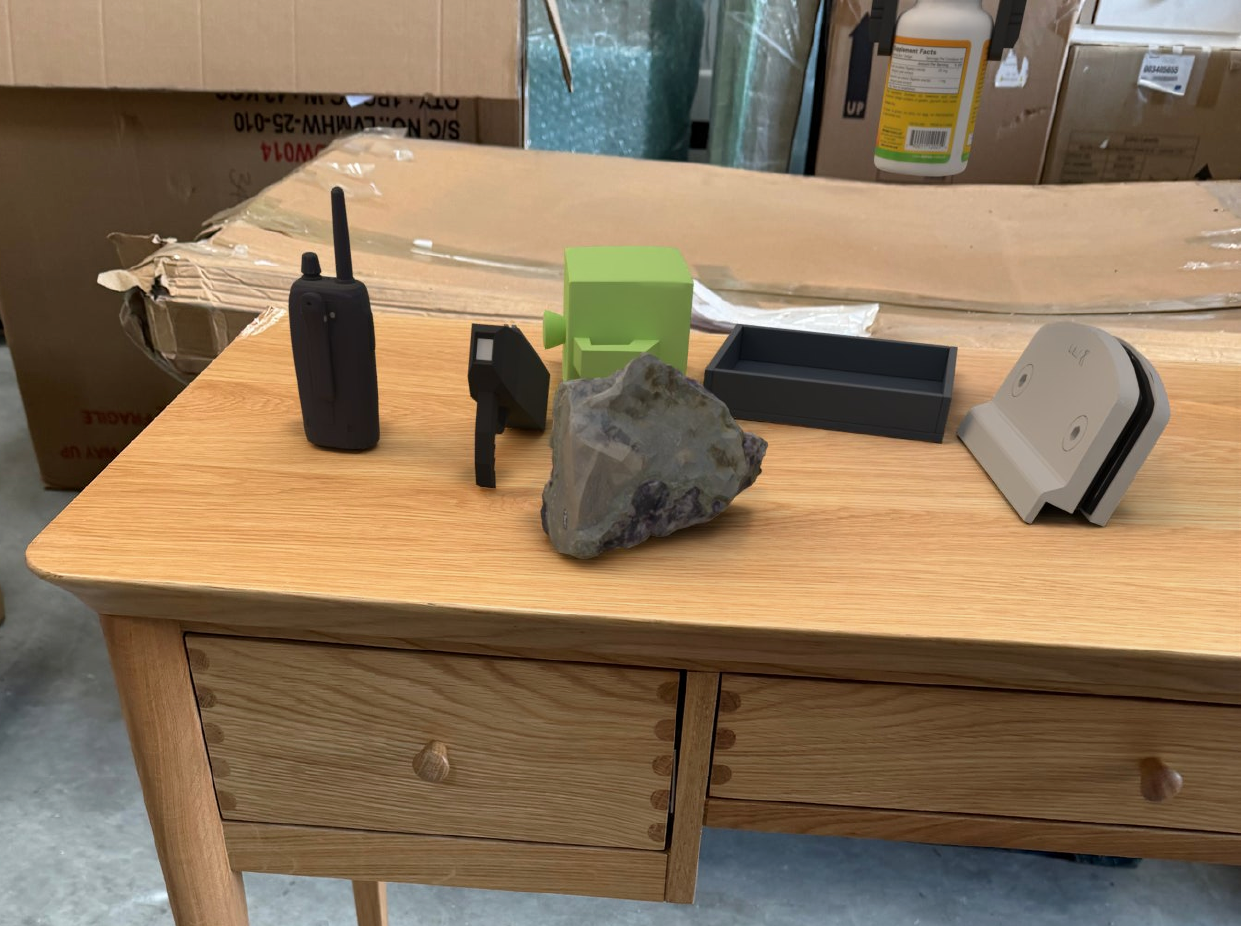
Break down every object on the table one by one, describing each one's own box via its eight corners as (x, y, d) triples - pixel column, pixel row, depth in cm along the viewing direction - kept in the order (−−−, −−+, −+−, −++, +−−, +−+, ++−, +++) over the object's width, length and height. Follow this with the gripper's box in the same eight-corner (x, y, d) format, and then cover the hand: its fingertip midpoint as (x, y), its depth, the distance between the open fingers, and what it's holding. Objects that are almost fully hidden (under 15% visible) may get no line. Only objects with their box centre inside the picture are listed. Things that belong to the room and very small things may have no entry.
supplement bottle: (919, 159, 72) (956, -42, 66) (985, 173, 68) (1029, -38, 62) (853, 165, 70) (884, -43, 64) (917, 180, 66) (956, -39, 60)
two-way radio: (391, 440, 79) (372, 184, 69) (365, 463, 76) (342, 197, 66) (315, 431, 80) (286, 177, 70) (286, 452, 77) (252, 189, 67)
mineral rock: (756, 504, 72) (779, 330, 66) (771, 580, 64) (798, 389, 58) (547, 495, 72) (550, 319, 66) (535, 569, 64) (537, 377, 58)
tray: (948, 388, 92) (958, 346, 90) (941, 443, 82) (951, 397, 80) (732, 364, 95) (736, 323, 93) (700, 414, 85) (704, 369, 83)
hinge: (954, 430, 84) (1038, 287, 78) (1010, 454, 85) (1097, 315, 79) (1025, 523, 71) (1132, 360, 65) (1090, 550, 72) (1201, 392, 66)
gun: (543, 511, 84) (557, 363, 82) (496, 480, 69) (512, 296, 67) (504, 507, 85) (517, 360, 83) (449, 476, 69) (463, 293, 67)
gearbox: (540, 359, 94) (541, 226, 88) (661, 361, 95) (671, 230, 89) (544, 435, 81) (545, 284, 75) (686, 437, 81) (699, 288, 75)
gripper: (1169, -371, 56) (1067, 58, 67) (867, -367, 59) (816, 46, 70) (1191, -404, 51) (1075, 70, 62) (856, -397, 53) (802, 56, 64)
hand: (938, 55), depth 66 cm, fingers closed on supplement bottle, 5 cm apart
